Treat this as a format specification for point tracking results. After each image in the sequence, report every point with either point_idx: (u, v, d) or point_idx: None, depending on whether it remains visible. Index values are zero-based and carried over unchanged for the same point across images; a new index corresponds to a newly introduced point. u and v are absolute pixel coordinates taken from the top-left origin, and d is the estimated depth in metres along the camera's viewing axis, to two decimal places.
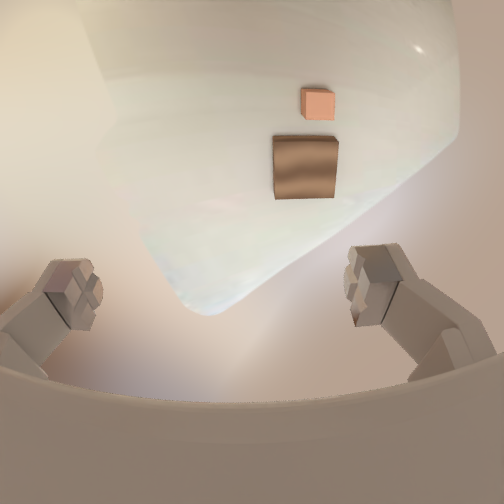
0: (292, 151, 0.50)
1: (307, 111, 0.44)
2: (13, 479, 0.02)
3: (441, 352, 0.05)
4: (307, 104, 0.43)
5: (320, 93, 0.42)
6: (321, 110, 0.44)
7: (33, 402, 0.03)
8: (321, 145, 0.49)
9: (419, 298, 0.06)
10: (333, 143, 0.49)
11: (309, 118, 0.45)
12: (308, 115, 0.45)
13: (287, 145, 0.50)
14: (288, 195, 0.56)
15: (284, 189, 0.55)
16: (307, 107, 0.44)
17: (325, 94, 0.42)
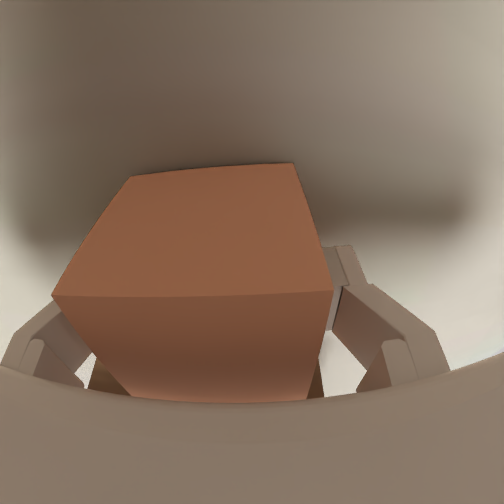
0: None
1: (126, 384, 0.07)
2: (13, 479, 0.02)
3: (381, 365, 0.05)
4: (105, 360, 0.06)
5: (172, 300, 0.04)
6: (209, 384, 0.06)
7: (33, 401, 0.03)
8: None
9: (363, 305, 0.06)
10: None
11: None
12: (142, 396, 0.07)
13: None
14: None
15: None
16: (115, 370, 0.06)
17: (225, 309, 0.04)
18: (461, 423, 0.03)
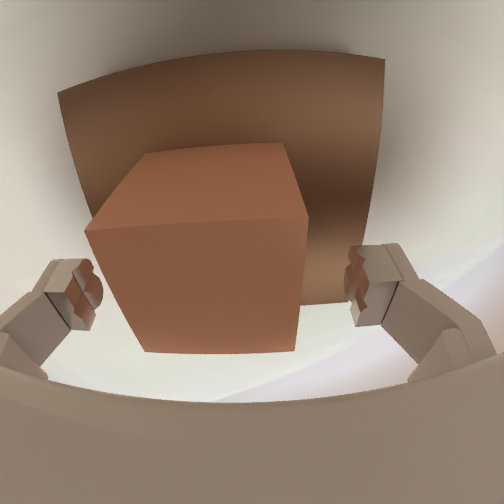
0: (138, 122, 0.09)
1: (136, 326, 0.08)
2: (13, 479, 0.02)
3: (441, 352, 0.05)
4: (121, 298, 0.07)
5: (185, 227, 0.06)
6: (210, 319, 0.08)
7: (32, 401, 0.03)
8: (292, 71, 0.08)
9: (419, 298, 0.06)
10: (356, 65, 0.08)
11: (161, 349, 0.09)
12: (149, 341, 0.09)
13: (111, 93, 0.08)
14: None
15: None
16: (128, 310, 0.08)
17: (226, 233, 0.06)
18: (461, 423, 0.03)
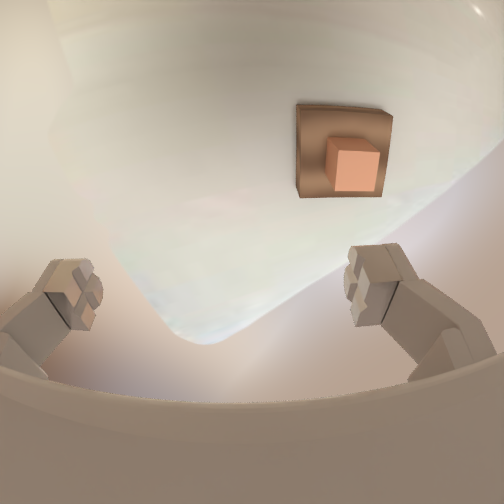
0: (327, 126, 0.32)
1: (337, 179, 0.31)
2: (13, 479, 0.02)
3: (441, 352, 0.05)
4: (338, 169, 0.30)
5: (359, 152, 0.29)
6: (357, 177, 0.31)
7: (33, 401, 0.03)
8: (369, 119, 0.31)
9: (419, 298, 0.06)
10: (385, 118, 0.30)
11: (340, 189, 0.32)
12: (338, 185, 0.31)
13: (321, 116, 0.31)
14: (319, 192, 0.37)
15: (313, 183, 0.37)
16: (338, 173, 0.30)
17: (366, 154, 0.29)
18: (461, 423, 0.03)
